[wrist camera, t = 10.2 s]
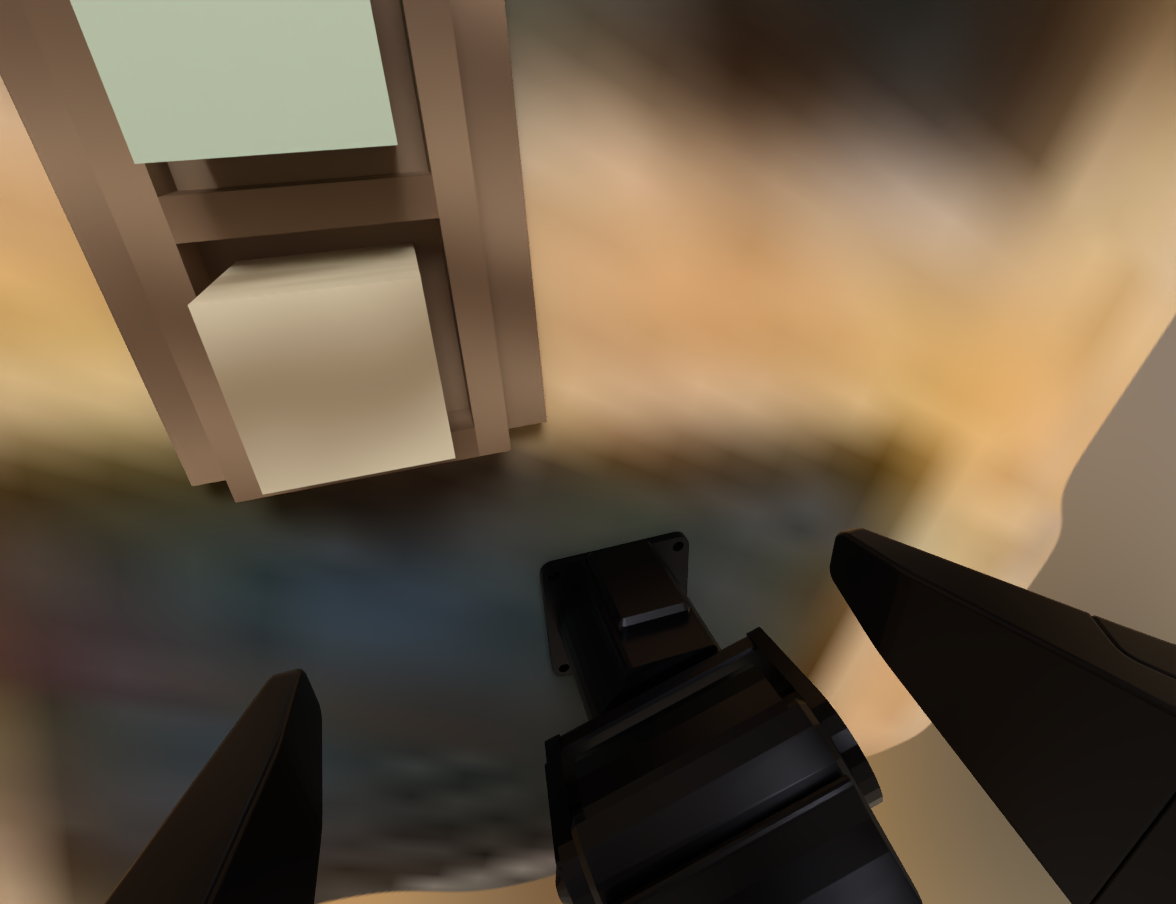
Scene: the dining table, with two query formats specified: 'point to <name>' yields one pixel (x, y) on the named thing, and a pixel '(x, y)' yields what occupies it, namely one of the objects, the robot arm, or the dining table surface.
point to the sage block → (239, 75)
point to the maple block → (326, 364)
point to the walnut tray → (304, 218)
